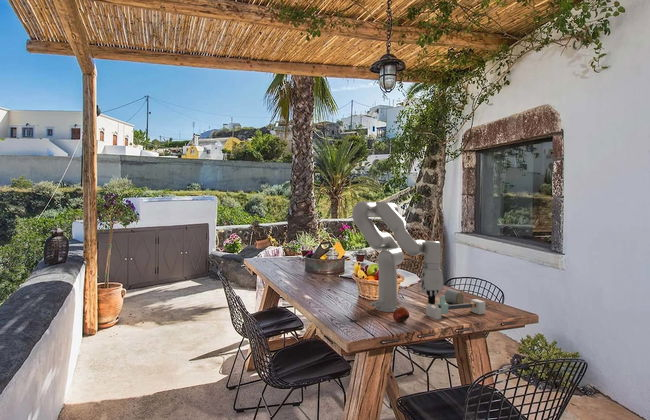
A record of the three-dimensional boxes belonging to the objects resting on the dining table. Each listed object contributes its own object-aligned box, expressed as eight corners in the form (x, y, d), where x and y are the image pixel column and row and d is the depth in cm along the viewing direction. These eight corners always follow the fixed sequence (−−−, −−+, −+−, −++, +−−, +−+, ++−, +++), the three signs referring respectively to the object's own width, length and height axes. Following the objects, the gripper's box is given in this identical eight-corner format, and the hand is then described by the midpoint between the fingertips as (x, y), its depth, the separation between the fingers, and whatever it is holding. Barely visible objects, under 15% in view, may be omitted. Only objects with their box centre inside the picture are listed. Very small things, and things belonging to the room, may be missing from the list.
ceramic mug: (456, 306, 212) (457, 292, 212) (443, 302, 218) (444, 289, 218) (467, 303, 218) (467, 289, 218) (454, 300, 225) (455, 287, 225)
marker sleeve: (441, 314, 190) (441, 297, 190) (436, 311, 194) (436, 295, 194) (448, 313, 191) (448, 296, 191) (442, 311, 195) (443, 294, 195)
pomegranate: (411, 328, 180) (403, 310, 188) (414, 318, 176) (406, 300, 183) (396, 330, 179) (389, 312, 186) (398, 321, 174) (391, 303, 182)
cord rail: (436, 319, 186) (436, 306, 186) (426, 314, 194) (426, 302, 194) (486, 314, 197) (486, 301, 197) (475, 309, 204) (475, 298, 204)
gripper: (423, 268, 184) (422, 306, 184) (449, 266, 189) (449, 304, 189) (414, 265, 191) (414, 303, 191) (440, 264, 196) (439, 300, 196)
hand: (431, 303), depth 190 cm, fingers closed
